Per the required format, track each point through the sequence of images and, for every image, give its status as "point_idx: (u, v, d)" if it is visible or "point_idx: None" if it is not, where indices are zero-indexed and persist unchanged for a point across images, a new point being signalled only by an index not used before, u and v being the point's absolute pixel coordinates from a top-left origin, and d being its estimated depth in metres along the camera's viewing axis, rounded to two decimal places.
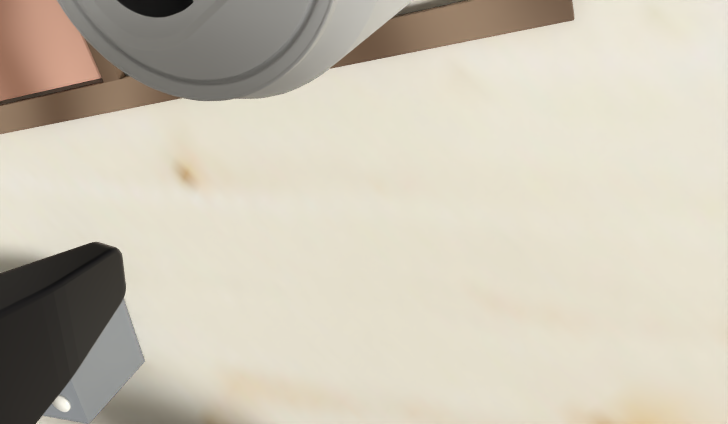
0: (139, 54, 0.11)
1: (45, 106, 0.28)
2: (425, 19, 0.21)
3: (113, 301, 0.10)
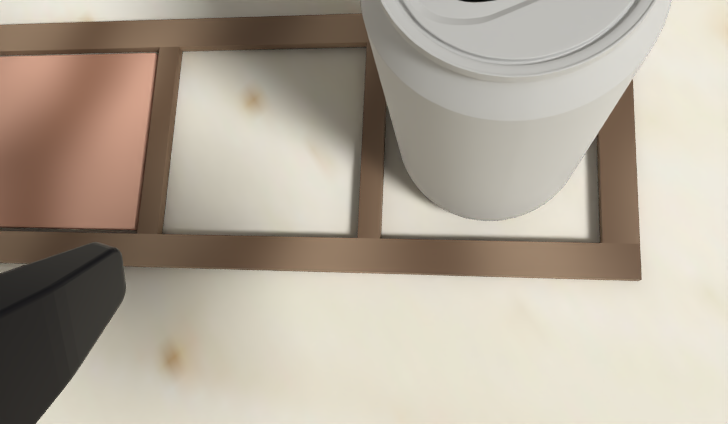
0: (432, 25, 0.12)
1: (50, 242, 0.25)
2: (503, 248, 0.22)
3: (113, 301, 0.10)
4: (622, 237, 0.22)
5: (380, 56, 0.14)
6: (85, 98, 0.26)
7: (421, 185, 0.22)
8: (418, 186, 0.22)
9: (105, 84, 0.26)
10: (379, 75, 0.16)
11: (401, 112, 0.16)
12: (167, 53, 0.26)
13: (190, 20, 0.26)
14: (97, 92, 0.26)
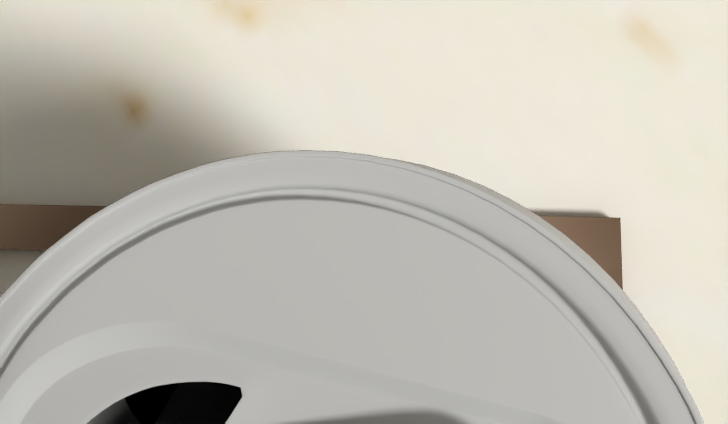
0: None
1: None
2: None
3: None
4: None
5: None
6: None
7: None
8: None
9: None
10: None
11: None
12: None
13: None
14: None
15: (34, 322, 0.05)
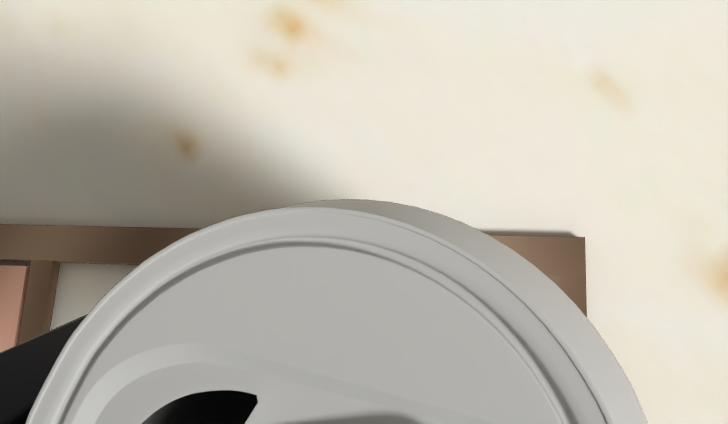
0: None
1: None
2: None
3: None
4: None
5: None
6: None
7: None
8: None
9: None
10: None
11: None
12: (39, 268, 0.22)
13: (68, 228, 0.22)
14: None
15: (106, 342, 0.06)
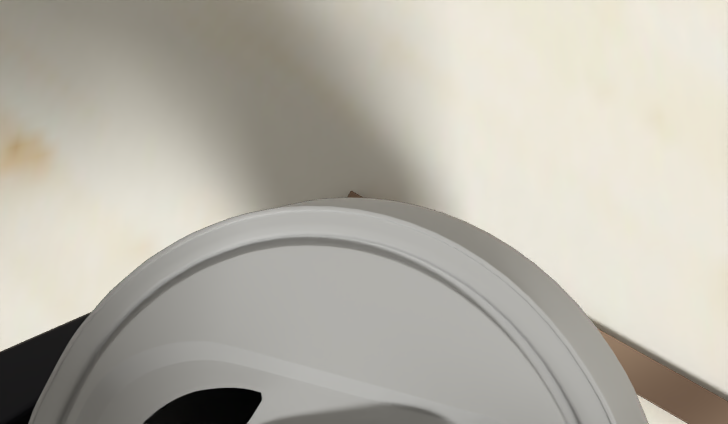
0: None
1: None
2: None
3: None
4: None
5: None
6: None
7: None
8: None
9: None
10: None
11: None
12: None
13: (607, 336, 0.21)
14: None
15: (109, 340, 0.06)
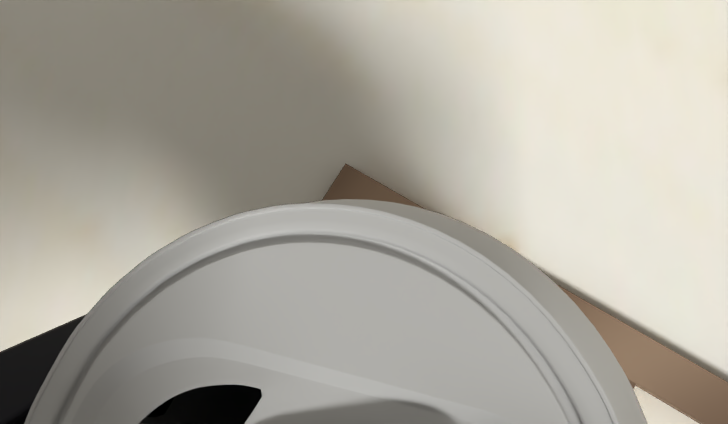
0: None
1: None
2: None
3: None
4: None
5: None
6: None
7: None
8: None
9: None
10: None
11: None
12: None
13: (671, 353, 0.16)
14: None
15: (108, 338, 0.06)
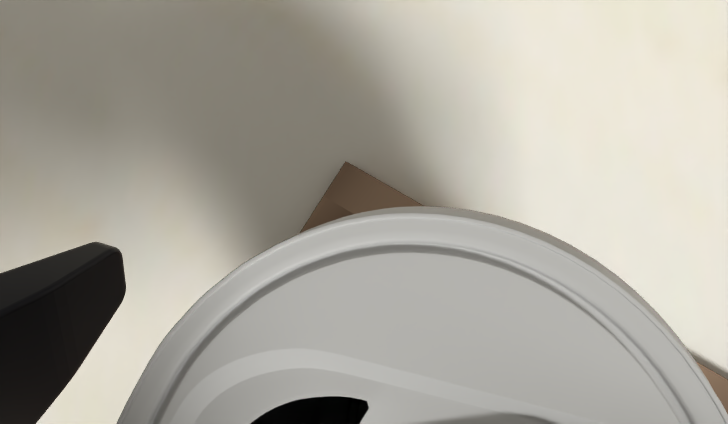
0: None
1: None
2: None
3: (113, 301, 0.10)
4: None
5: None
6: None
7: None
8: None
9: None
10: None
11: None
12: None
13: None
14: None
15: (197, 347, 0.06)
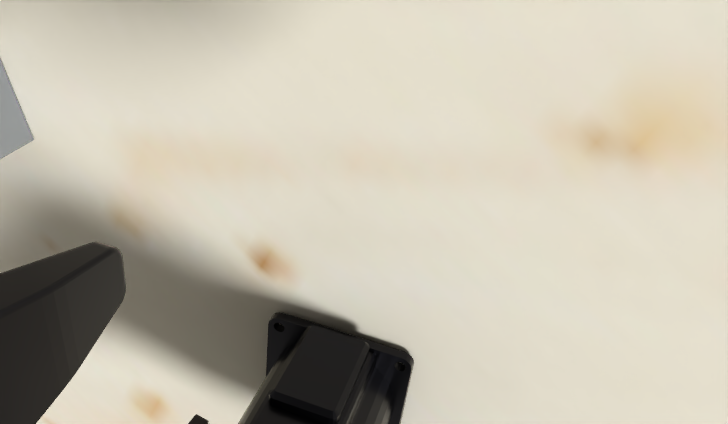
0: None
1: None
2: None
3: (113, 301, 0.10)
4: None
5: None
6: None
7: None
8: None
9: None
10: None
11: None
12: None
13: None
14: None
15: None
